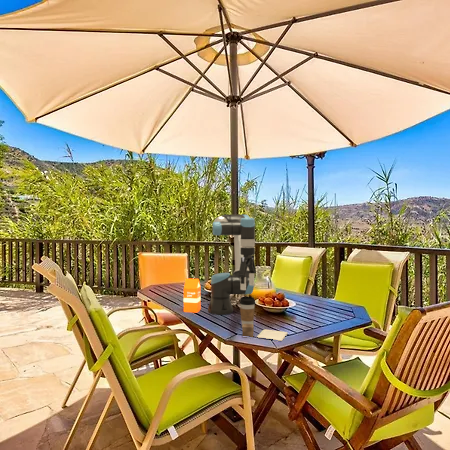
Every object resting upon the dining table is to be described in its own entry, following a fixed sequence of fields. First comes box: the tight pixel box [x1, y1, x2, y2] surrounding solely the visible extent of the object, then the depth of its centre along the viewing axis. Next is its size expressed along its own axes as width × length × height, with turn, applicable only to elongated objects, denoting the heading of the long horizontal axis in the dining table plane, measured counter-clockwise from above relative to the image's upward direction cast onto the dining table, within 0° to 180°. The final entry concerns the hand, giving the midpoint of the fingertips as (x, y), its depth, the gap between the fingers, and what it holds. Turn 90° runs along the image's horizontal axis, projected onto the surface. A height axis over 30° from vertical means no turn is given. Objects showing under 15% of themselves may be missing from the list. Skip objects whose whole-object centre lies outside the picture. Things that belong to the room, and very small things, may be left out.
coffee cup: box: [239, 296, 256, 327], centre depth 174 cm, size 8×8×15 cm
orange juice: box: [183, 277, 202, 314], centre depth 205 cm, size 8×9×20 cm
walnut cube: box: [241, 323, 255, 338], centre depth 160 cm, size 5×5×5 cm
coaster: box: [256, 329, 288, 342], centre depth 159 cm, size 12×12×1 cm
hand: (247, 287), depth 174 cm, fingers open, 13 cm apart
